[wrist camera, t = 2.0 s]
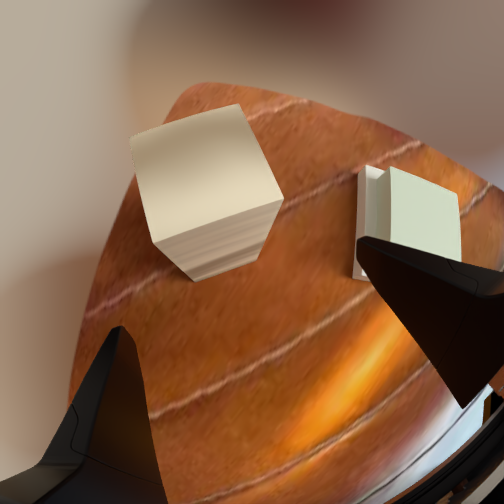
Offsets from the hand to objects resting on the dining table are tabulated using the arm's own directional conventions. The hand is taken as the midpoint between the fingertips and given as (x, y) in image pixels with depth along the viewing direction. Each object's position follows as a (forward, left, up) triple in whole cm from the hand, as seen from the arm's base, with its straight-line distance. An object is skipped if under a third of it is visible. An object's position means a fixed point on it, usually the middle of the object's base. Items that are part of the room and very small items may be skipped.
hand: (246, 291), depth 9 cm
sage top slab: (+10, -13, -10) cm, 19 cm away
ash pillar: (+4, +3, -12) cm, 13 cm away
